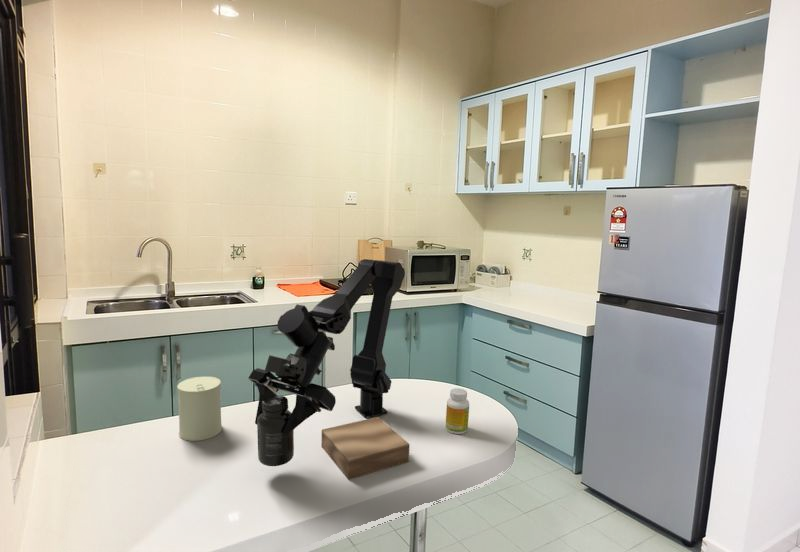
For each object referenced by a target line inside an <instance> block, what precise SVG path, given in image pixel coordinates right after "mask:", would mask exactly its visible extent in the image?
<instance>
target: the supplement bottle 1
mask: <svg viewBox="0 0 800 552" xmlns="http://www.w3.org/2000/svg"><path fill="white" fill-rule="evenodd" d="M291 413H292V412H291V411H290V410H289V401H288V397H286V396H284V395H277V396H270V397H267V398H265V399H264V400H263V401H262V413H261V414H260V415H259V417H258V419H257V424H256V425H257V427H256V428H257V431H256V432H257V433H256V434H257V457H258V461H259V462H260V464H262V465H263V466H266V467H279V466H282V465H283V466H284V465H285V464H288V463H289V462H290V461H291V460H293V458H294V454H295V452H294V451H295V443H294V442H295V439H294V438H295V437H294V435H295V434H294V432H295V431H294V430H295V429H294V430H292V431H291V432H290V433H289V434H288V435H284V434H283V430H284V428H285V425H286V423H287V421H288V419H289V417H290V415H291Z"/></svg>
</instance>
